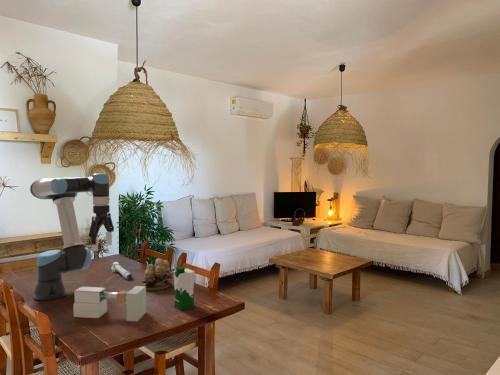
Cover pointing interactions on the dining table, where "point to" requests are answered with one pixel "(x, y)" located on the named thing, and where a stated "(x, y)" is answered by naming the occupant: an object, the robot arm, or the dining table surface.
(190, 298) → the milk carton
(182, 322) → the dining table surface
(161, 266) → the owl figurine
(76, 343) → the dining table surface
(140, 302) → the socket block
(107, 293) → the tube
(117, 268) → the white knobbed cylinder
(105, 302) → the sleeve
